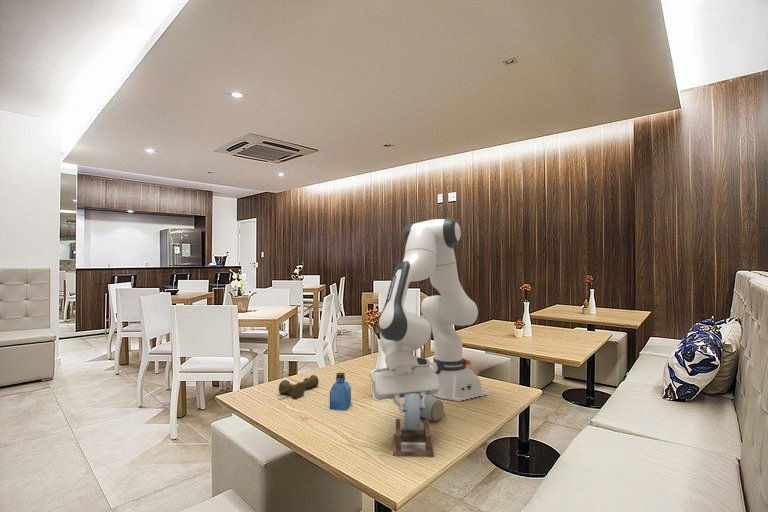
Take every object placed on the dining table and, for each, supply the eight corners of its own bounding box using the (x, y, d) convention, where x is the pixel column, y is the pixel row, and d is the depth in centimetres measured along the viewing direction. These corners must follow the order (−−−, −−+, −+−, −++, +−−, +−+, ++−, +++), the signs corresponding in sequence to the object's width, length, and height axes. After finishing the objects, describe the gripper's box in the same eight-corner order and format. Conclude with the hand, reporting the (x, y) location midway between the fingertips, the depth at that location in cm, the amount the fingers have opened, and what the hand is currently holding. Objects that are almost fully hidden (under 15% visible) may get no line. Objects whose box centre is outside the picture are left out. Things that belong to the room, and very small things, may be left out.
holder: (430, 437, 115) (430, 419, 115) (433, 456, 104) (433, 436, 104) (393, 437, 115) (393, 418, 115) (393, 455, 104) (393, 435, 104)
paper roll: (416, 422, 112) (416, 391, 112) (422, 428, 108) (422, 396, 108) (402, 424, 111) (402, 392, 111) (407, 430, 107) (407, 397, 107)
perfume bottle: (346, 410, 136) (346, 376, 136) (329, 409, 137) (329, 375, 137) (351, 404, 142) (351, 371, 142) (335, 402, 143) (335, 370, 143)
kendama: (323, 389, 160) (288, 403, 143) (306, 386, 165) (270, 398, 148) (323, 375, 160) (288, 386, 143) (306, 372, 165) (270, 383, 149)
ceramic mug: (432, 425, 123) (432, 401, 124) (412, 418, 129) (413, 395, 129) (450, 416, 131) (450, 393, 131) (431, 409, 137) (431, 388, 137)
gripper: (371, 363, 113) (380, 409, 104) (433, 359, 119) (448, 401, 110) (367, 374, 117) (375, 419, 108) (427, 369, 124) (441, 411, 114)
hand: (412, 410), depth 109 cm, fingers closed on paper roll, 4 cm apart
